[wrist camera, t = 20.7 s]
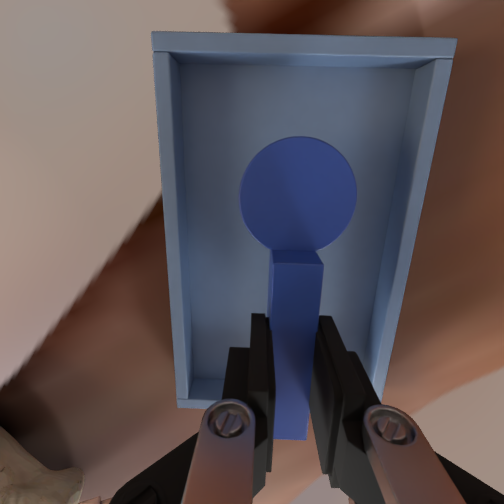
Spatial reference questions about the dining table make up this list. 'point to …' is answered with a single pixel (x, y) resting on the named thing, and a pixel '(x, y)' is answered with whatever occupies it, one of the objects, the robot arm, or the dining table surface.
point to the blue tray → (261, 135)
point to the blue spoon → (296, 254)
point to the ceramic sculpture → (34, 478)
